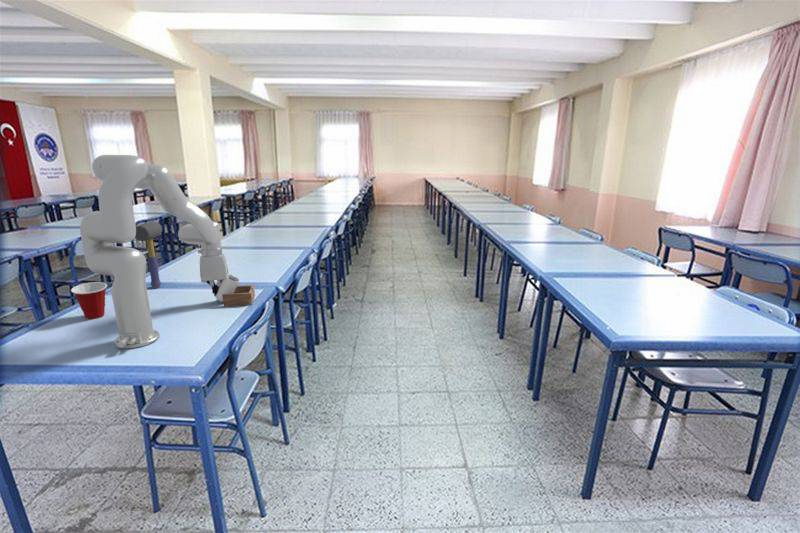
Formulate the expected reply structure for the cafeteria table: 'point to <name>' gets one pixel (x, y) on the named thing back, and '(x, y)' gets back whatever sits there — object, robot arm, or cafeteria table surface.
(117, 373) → the cafeteria table surface
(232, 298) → the box
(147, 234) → the rubber mallet
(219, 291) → the white paper cup
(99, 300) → the plastic cup
